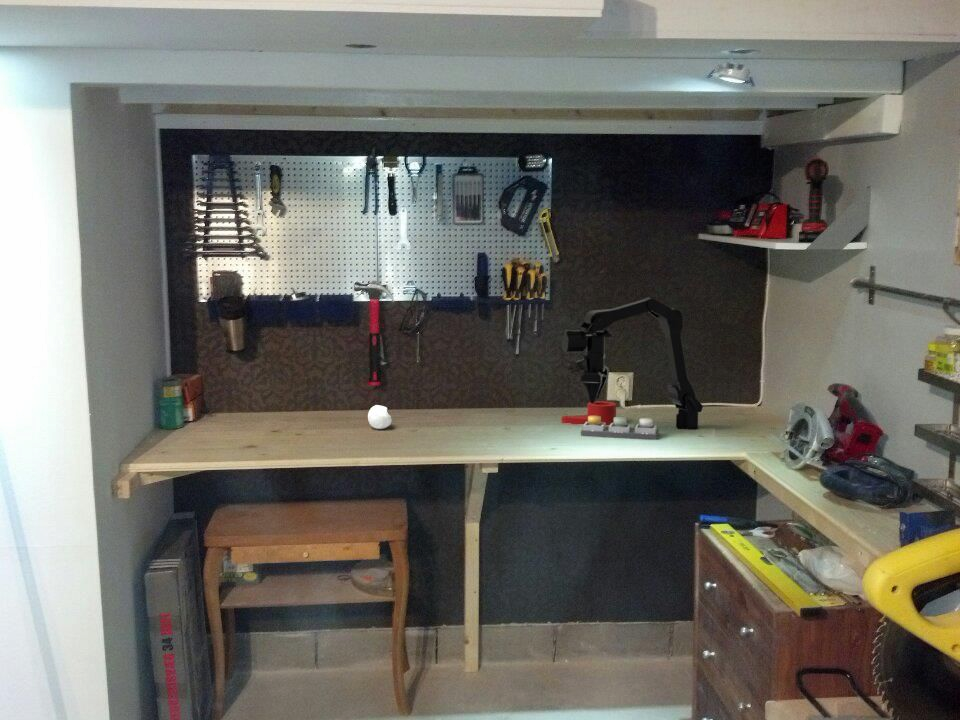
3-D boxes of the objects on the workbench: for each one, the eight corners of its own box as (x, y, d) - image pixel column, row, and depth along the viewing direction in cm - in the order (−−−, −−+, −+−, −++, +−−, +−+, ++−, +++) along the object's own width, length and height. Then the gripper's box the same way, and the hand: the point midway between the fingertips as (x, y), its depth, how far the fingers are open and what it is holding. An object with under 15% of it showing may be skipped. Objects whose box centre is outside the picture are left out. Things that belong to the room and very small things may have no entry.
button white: (653, 424, 290) (653, 418, 290) (651, 427, 286) (652, 420, 286) (640, 424, 291) (640, 417, 291) (638, 426, 287) (638, 420, 287)
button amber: (601, 422, 294) (601, 415, 294) (599, 424, 291) (599, 418, 290) (589, 421, 295) (589, 415, 295) (587, 423, 292) (587, 417, 291)
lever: (613, 420, 315) (614, 401, 314) (617, 426, 305) (618, 406, 305) (560, 420, 315) (560, 401, 314) (562, 426, 305) (562, 406, 305)
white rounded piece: (392, 431, 298) (392, 407, 297) (368, 431, 296) (368, 407, 295) (391, 426, 305) (390, 402, 304) (367, 426, 304) (367, 403, 303)
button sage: (627, 423, 292) (627, 417, 292) (625, 425, 288) (625, 419, 288) (614, 422, 293) (614, 416, 293) (612, 425, 289) (612, 418, 289)
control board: (658, 433, 293) (658, 424, 292) (656, 439, 284) (656, 430, 284) (585, 429, 299) (585, 420, 298) (580, 435, 290) (581, 426, 289)
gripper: (574, 347, 302) (574, 395, 304) (564, 354, 284) (563, 404, 286) (609, 348, 299) (608, 396, 301) (600, 355, 281) (599, 406, 283)
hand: (594, 400), depth 293 cm, fingers open, 9 cm apart
